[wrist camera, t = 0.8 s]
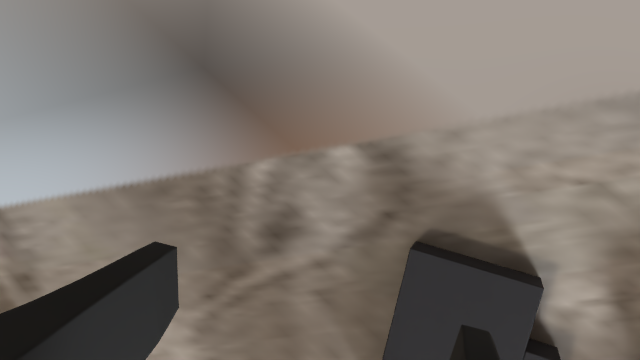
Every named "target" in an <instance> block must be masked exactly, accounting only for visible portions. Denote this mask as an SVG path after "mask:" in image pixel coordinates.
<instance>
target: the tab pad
mask: <svg viewBox="0 0 640 360" xmlns="http://www.w3.org/2000/svg"><path fill="white" fill-rule="evenodd" d="M543 290H544V287H543V284H542V281H541V278H540V277H536V276H533V275H529V274H526V273H523V272H519V271H516V270H512V269H509V268H505V267H502V266H499V265H495V264H492V263H488V262H485V261H482V260H478V259H475V258H471V257H468V256H464V255H461V254H458V253H454V252H451V251H447V250H444V249H441V248H437V247H434V246H430V245H427V244H423V243H420V242H417V241H416V242H415V243H414V245H413V246H412V247H411V249H410V252H409V256H408V260H407V264H406V268H405V272H404V276H403V280H402V284H401V288H400V292H399V296H398V299H397V303H396V307H395V311H394V315H393V319H392V323H391V327H390V331H389V335H388V339H387V343H386V347H385V351H384V355H383V359H382V360H450V357H451V354H452V351H453V348H454V345H455V342H456V339H457V336H458V333H459V330H460V327H461V324H463V325H467V326H471V327H474V328H478V329H482V330H485V331H489V332H490V334H491V336H492V337H493V340H494V343H495V346H496V349H497V352H498V354H499V357H500V359H501V360H561V359H560V356H559V352H558V349H557V348H556V347H554V346H551V345H548V344H545V343H542V342H538V341H535V340H532V339H529V336H530V333H531V330H532V327H533V323H534V320H535V317H536V313H537V310H538V307H539V303H540V300H541V297H542V293H543Z"/></svg>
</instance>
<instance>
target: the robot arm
mask: <svg viewBox="0 0 640 360" xmlns="http://www.w3.org/2000/svg"><path fill="white" fill-rule="evenodd" d="M178 308H179V301H178V273H177V247H174V246H170V245H167V244H163V243H159V242H153V243H151V244H149V245H147V246H145V247H143V248H141V249H139V250H137V251H135V252H133V253H131V254H129V255H127V256H125V257H123V258H121V259H119V260H117V261H115V262H113V263H111V264H109V265H107V266H105V267H103V268H101V269H99V270H97V271H95V272H93V273H91V274H89V275H87V276H85V277H83V278H81V279H79V280H77V281H75V282H73V283H71V284H69V285H67V286H64V287H62V288H60V289H58V290H56V291H53V292H51V293H49V294H47V295H45V296H42V297H40V298H38V299H36V300H34V301H31V302H29V303H26V304H24V305H21V306H19V307H16V308H14V309H11V310H9V311H6V312H4V313H1V314H0V360H146V358H147V357H148V356H149V354H150V353H151V352H152V350H153V349H154V348H155V346H156V345H157V344H158V342H159V341H160V339H161V337H162V336H163V334H164V332H165V331H166V329H167V327H168V326H169V324H170V322H171V320H172V318H173V317H174V315H175V313H176V311H177V310H178ZM450 360H501V359H500V357H499V354H498V352H497V349H496V346H495V343H494V340H493V337H492V336H491V334H490V332H489V331H485V330H482V329H478V328H474V327H471V326H467V325H463V324H461V327H460V330H459V333H458V336H457V339H456V342H455V345H454V348H453V351H452V354H451V357H450Z"/></svg>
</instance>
